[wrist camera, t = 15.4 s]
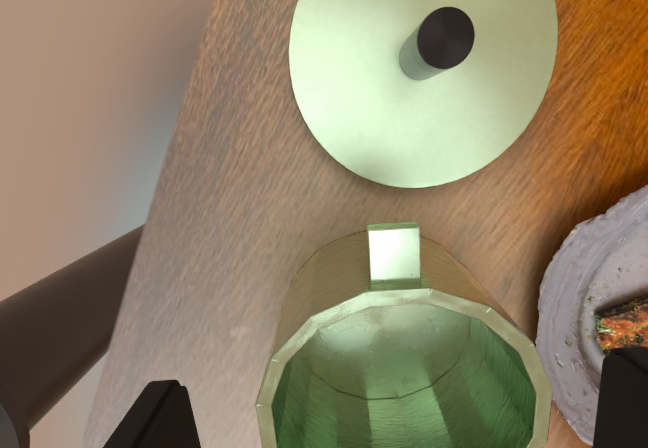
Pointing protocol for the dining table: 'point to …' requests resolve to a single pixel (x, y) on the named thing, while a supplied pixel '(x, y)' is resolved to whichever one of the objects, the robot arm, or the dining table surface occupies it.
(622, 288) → the food plate
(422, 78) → the lid
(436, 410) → the pot
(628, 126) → the dining table surface
